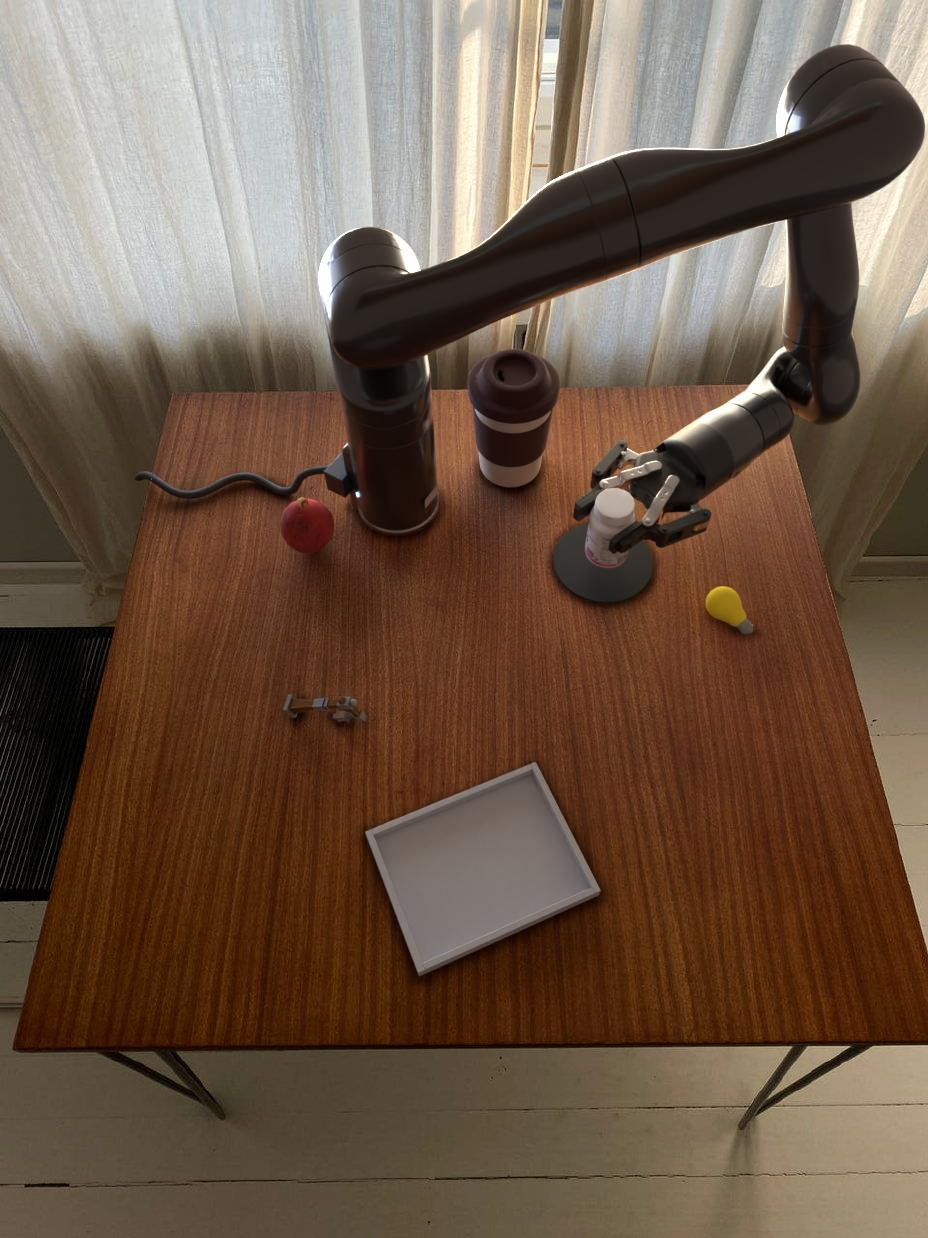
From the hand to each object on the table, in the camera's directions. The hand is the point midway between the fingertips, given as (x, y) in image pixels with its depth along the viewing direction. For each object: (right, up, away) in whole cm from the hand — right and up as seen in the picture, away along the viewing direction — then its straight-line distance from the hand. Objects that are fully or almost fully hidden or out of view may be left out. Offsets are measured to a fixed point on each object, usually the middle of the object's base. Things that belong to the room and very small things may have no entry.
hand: (594, 530), depth 89 cm
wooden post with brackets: (-27, -19, -2) cm, 33 cm away
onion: (-31, -1, +9) cm, 32 cm away
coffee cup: (-8, +9, +15) cm, 20 cm away
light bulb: (+16, -8, +2) cm, 18 cm away
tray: (-12, -31, -10) cm, 35 cm away
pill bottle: (+2, -2, +6) cm, 7 cm away
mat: (+2, -3, +7) cm, 8 cm away
